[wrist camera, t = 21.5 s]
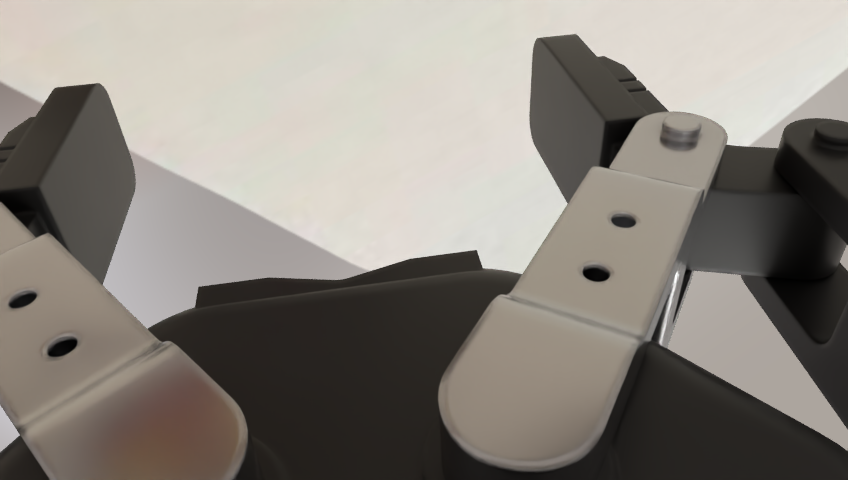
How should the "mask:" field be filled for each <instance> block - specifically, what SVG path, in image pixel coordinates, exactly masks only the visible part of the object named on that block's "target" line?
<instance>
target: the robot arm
mask: <svg viewBox="0 0 848 480" xmlns="http://www.w3.org/2000/svg"><path fill="white" fill-rule="evenodd" d="M636 79H637V78H636V77H635V76H634V75H633V74H632V73H631V72H630V71H629V70H628V69H627V68H626V67H625V66H624V65H622V64H620V63H618V62H615V61H613V60H611V59H609V58H607V57H605V56H602V57H597V56H596V55H595V54H594V53H593V52H592V51H591V50H590V49H589V47H588V46H587V45H586V44H585V43H584V42H583V41H582V40H581V39H580V38H579V36H577V35H576V34H572V35H562V36H553V37H543V38H537V39H536V41H535V44H534V48H533V59H532V78H531V97H530V130H531V135H532V139H533V142H534V145H535V147H536V148H537V150H538V152H539V154H540V156H541V157H542V159H543V161H544V163H545V164H546V166H547V168H548V170H549V171H550V173H551V175H552V177H553V178H554V180H555V182H556V184H557V185H558V187H559V189H560V191H561V192H562V194H563V196H564V198H565V200H566V201H567V203H568V204H567V206H566V208H565V209H564V211H563V212H562V214H561V215H560V217H559V218H558V220H557V222H556V223H555V225H554V226H553V228H552V229H551V231H550V232H549V234H548V235H547V237H546V239H545V240H544V242H543V243H542V245H541V246H540V248H539V249H538V251H537V252H536V254H535V256H534V257H533V259H532V260H531V262H530V263H529V265H528V266H527V268H526V270H525V271H524V273H523V274H519V273H514V272H510V271H503V270H495V269H484V268H482V265H481V262H480V259H479V256H478V253H477V250H474V251H466V252H459V253H451V254H444V255H436V256H429V257H421V258H414V259H408V260H405V261H402V262H399V263H396V264H392V265H389V266H386V267H383V268H379V269H376V270H373V271H370V272H367V273H363V274H360V275H357V276H354V277H351V278H347V279H343V280H317V279H316V280H315V279H314V280H313V279H291V278H262V279H255V280H248V281H240V282H232V283H225V284H217V285H209V286H202V287H199V288H198V294H197V299H196V305H195V308H192V309H189V310H186V311H183V312H181V313H178V314H176V315H174V316H171V317H169V318H167V319H165V320H163V321H161V322H159V323H157V324H155V325H153V326H151V327H150V328H148V329H147V328H146V327H145V326H143V324H141V322H140V321H138V320H137V319H136V318H135V317H134V316H133V315H132V314H131V313H130V312H129V311H128V310H127V309H126V308H125V307H124V306H123V305H122V304H121V303H120V302H119V301H118V300H117V299H116V298H115V297H114V296H113V295H112V294H111V293H110V292H109V291H108V290H107V289H106V288H105V287H104V286H103V282H104V279H105V276H106V273H107V270H108V267H109V265H110V262H111V259H112V256H113V253H114V250H115V247H116V244H117V241H118V238H119V236H120V233H121V230H122V227H123V224H124V221H125V218H126V215H127V212H128V210H129V207H130V204H131V201H132V198H133V195H134V192H135V184H136V183H135V171H134V166H133V162H132V159H131V156H130V153H129V150H128V147H127V145H126V142H125V139H124V136H123V134H122V131H121V128H120V125H119V122H118V120H117V117H116V114H115V111H114V109H113V106H112V103H111V100H110V98H109V95H108V93H107V91H106V90H105V88H104V87H103V86H102V85H101V84H99V83H96V84H86V85H76V86H67V87H57V88H55V89H54V90H53V91H52V93H51V94H50V96H49V97H48V99H47V100H46V102H45V103H44V105H43V106H42V108H41V110H40V111H39V112H38V114H37V115H36V117H31V118H29V119H27V120H26V121H24V122H23V123H21V124H20V125H18V126H17V127H16V128H14V129H13V130H11V131H10V132H8V134H7V135H6V137H5V138H4V139H3V141H2V142H1V144H0V405H1V407H2V408H3V410H4V411H5V413H6V414H7V416H8V417H9V419H10V420H11V422H12V423H13V425H14V426H15V428H16V429H17V431H18V432H19V434H20V436H19V437H17V438H16V439H15V440H14V441H13V442H12V443H11V444H9V445H8V446H7V447H6V448H5V449H4V450H3V451H1V452H0V480H848V451H846V450H845V449H844V448H842V447H841V446H840V445H838V444H837V443H835V442H833V441H832V440H830V439H829V438H827V437H825V436H824V435H822V434H820V433H819V432H817V431H815V430H813V429H811V428H809V427H808V426H806V425H804V424H802V423H801V422H799V421H797V420H795V419H793V418H791V417H790V416H788V415H786V414H784V413H782V412H781V411H779V410H777V409H775V408H773V407H771V406H770V405H768V404H766V403H764V402H763V401H761V400H759V399H757V398H755V397H753V396H752V395H750V394H748V393H746V392H744V391H742V390H741V389H739V388H737V387H735V386H733V385H732V384H730V383H728V382H726V381H725V380H723V379H721V378H719V377H717V376H715V375H714V374H712V373H710V372H708V371H706V370H705V369H703V368H701V367H699V366H697V365H695V364H694V363H692V362H690V361H688V360H687V359H685V358H683V357H681V356H679V355H677V354H676V353H674V352H672V351H670V350H669V349H667V347H668V344H669V341H670V339H671V336H672V333H673V330H674V327H675V324H676V322H677V319H678V316H679V313H680V310H681V308H682V305H683V302H684V299H685V296H686V293H687V291H688V288H689V285H690V282H691V279H692V276H693V272H694V271H705V272H716V273H727V274H739V275H741V278H742V280H743V281H744V283H745V285H746V286H747V287H748V289H749V290H750V292H751V293H752V294H753V296H754V297H755V299H756V300H757V302H758V303H759V304H760V306H761V307H762V309H763V310H764V311H765V313H766V314H767V316H768V317H769V319H770V320H771V321H772V323H773V324H774V326H775V327H776V328H777V330H778V331H779V332H780V334H781V336H782V337H783V338H784V340H785V341H786V342H787V344H788V345H789V347H790V348H791V350H792V351H793V353H794V354H795V355H796V357H797V358H798V360H799V361H800V362H801V364H802V365H803V367H804V368H805V369H806V371H807V372H808V374H809V375H810V377H811V378H812V379H813V381H814V382H815V384H816V385H817V386H818V388H819V389H820V391H821V392H822V394H823V395H824V396H825V398H826V399H827V401H828V402H829V404H830V405H831V406H832V408H833V409H834V411H835V412H836V413H837V415H838V416H839V417H840V419H841V421H842V422H843V423H844V425H845V426H846V428H847V429H848V271H847V270H846V269H845V268H844V267H843V266H842V265H841V263H840V260H841V257H842V255H843V252H844V250H845V248H846V245H848V123H847V122H844V121H839V120H832V119H820V118H815V119H803V120H798V121H795V122H793V123H790V124H789V125H787V126H786V128H785V129H784V131H783V134H782V138H781V141H780V144H779V147H778V148H761V147H743V146H732V145H726V143H727V139H728V136H727V133H726V131H725V129H724V128H723V127H722V126H720V125H719V124H718V123H716V122H714V121H712V120H711V119H708V118H706V117H703V116H700V115H696V114H691V113H685V112H669V111H668V110H667V109H666V108H665V107H664V106H663V105H662V104H661V103H660V102H659V101H658V100H657V99H656V98H655V97H654V96H653V95H652V94H651V92H650V91H649V90H648V91H646V87H645V86H644V85H643V84H642V83H641V82H640V81H639V80H638V81H637V80H636Z"/></svg>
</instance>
